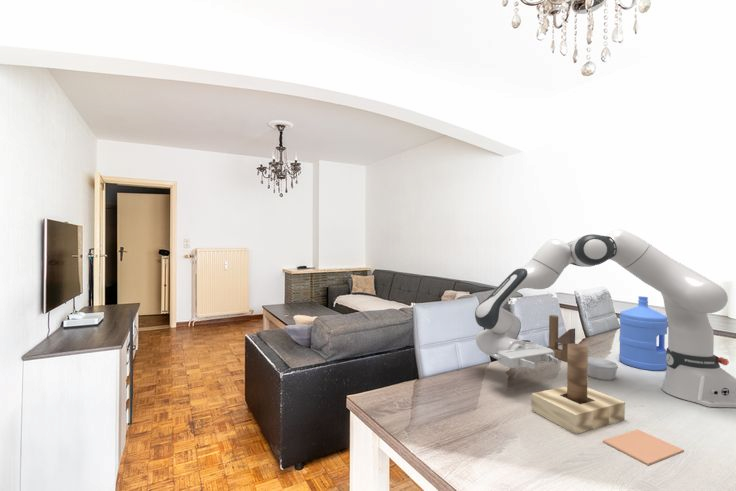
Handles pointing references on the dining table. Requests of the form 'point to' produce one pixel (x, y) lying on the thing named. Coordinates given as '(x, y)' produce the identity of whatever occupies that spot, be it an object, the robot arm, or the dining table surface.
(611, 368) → the ramekin
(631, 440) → the terracotta mat
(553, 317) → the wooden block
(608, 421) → the slotted wood base
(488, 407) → the dining table surface
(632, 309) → the water jug
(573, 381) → the walnut key peg
